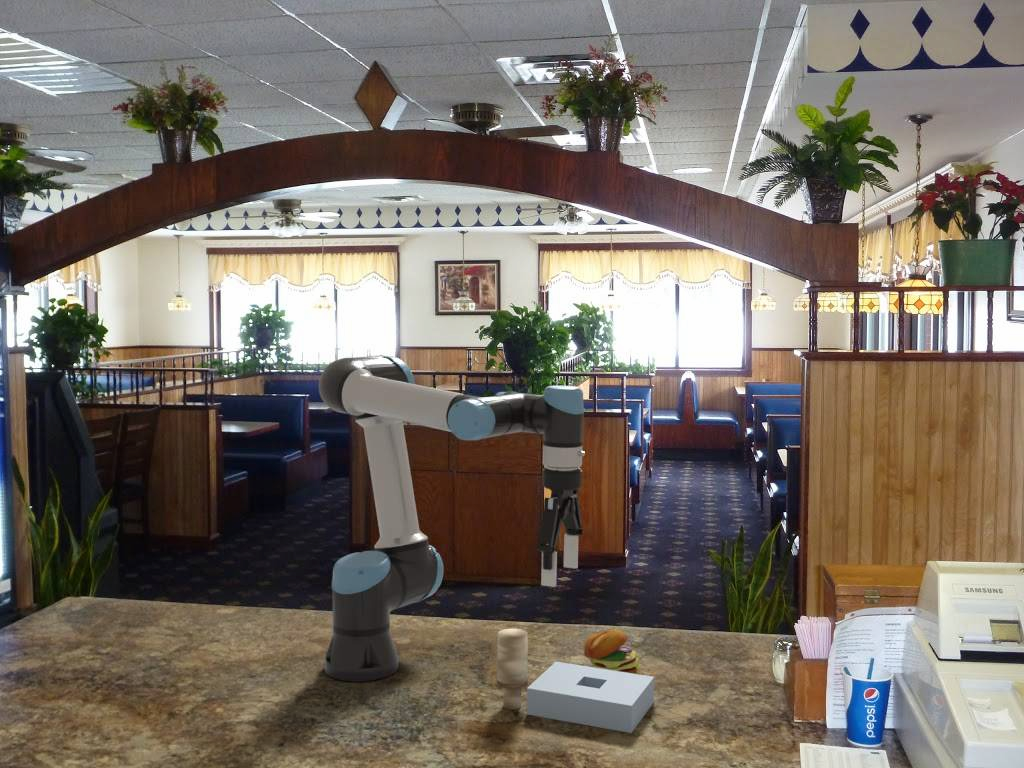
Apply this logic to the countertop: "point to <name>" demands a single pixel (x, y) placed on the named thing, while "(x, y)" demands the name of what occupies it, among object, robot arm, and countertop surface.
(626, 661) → the cheeseburger
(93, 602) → the countertop surface
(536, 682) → the board
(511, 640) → the peg
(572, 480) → the robot arm
